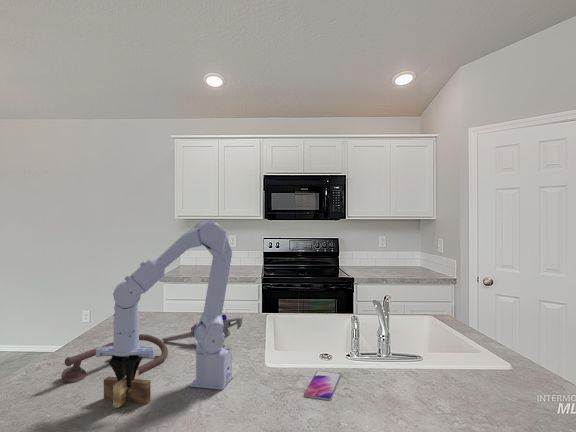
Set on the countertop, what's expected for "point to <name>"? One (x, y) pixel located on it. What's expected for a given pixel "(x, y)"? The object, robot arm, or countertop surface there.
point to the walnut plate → (129, 390)
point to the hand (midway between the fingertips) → (126, 385)
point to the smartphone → (323, 385)
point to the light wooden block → (121, 391)
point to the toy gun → (191, 334)
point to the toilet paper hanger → (79, 373)
